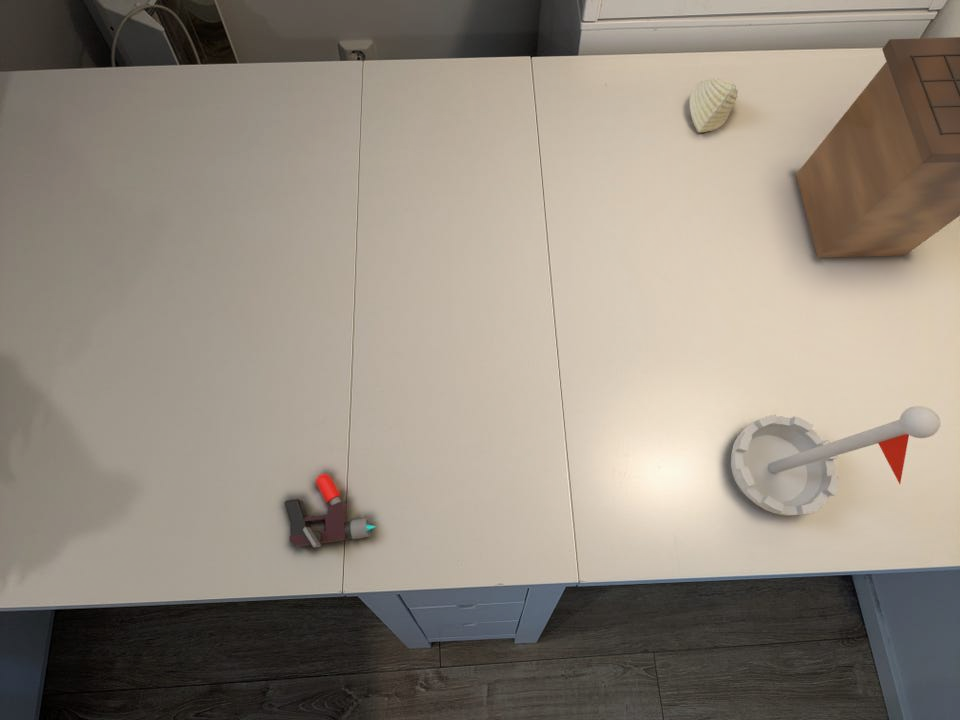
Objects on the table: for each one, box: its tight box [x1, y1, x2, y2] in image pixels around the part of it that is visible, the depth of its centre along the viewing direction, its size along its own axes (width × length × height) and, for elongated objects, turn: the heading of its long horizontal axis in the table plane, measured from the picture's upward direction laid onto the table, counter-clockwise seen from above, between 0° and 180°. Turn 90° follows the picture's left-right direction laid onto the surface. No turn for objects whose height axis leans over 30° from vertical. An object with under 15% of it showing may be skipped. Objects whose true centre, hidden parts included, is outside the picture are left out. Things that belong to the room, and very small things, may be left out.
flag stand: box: [730, 405, 941, 516], centre depth 63 cm, size 13×13×30 cm
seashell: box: [688, 78, 739, 133], centre depth 96 cm, size 8×8×8 cm
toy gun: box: [284, 473, 377, 549], centre depth 74 cm, size 10×12×5 cm
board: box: [795, 36, 960, 259], centre depth 79 cm, size 16×18×26 cm
